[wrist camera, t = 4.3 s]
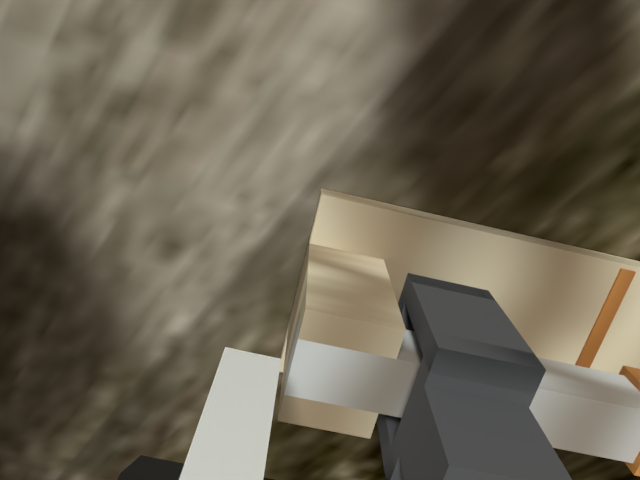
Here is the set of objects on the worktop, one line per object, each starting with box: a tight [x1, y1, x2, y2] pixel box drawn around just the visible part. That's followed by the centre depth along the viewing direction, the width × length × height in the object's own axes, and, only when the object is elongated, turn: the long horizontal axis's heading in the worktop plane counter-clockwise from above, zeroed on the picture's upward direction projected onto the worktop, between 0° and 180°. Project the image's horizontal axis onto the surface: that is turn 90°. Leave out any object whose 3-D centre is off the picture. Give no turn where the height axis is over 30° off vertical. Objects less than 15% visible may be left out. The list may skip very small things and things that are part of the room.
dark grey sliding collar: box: [377, 273, 572, 480], centre depth 15 cm, size 3×5×8 cm, turn 167°
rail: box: [277, 188, 640, 476], centre depth 19 cm, size 18×8×7 cm, turn 77°
